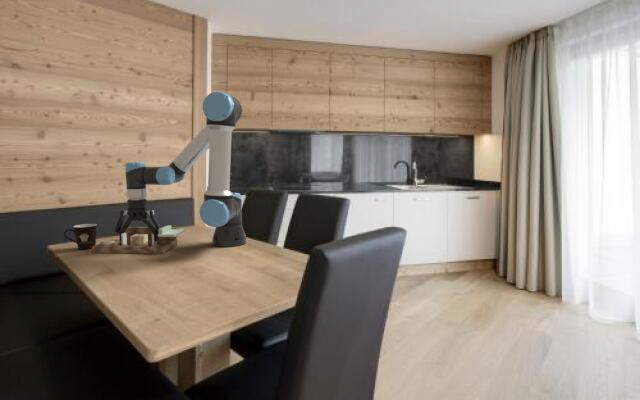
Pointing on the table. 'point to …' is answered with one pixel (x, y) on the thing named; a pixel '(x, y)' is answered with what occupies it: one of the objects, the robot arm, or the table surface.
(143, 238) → the maple block
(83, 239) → the coffee mug
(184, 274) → the table surface
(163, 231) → the lid
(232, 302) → the table surface
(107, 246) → the puzzle board
